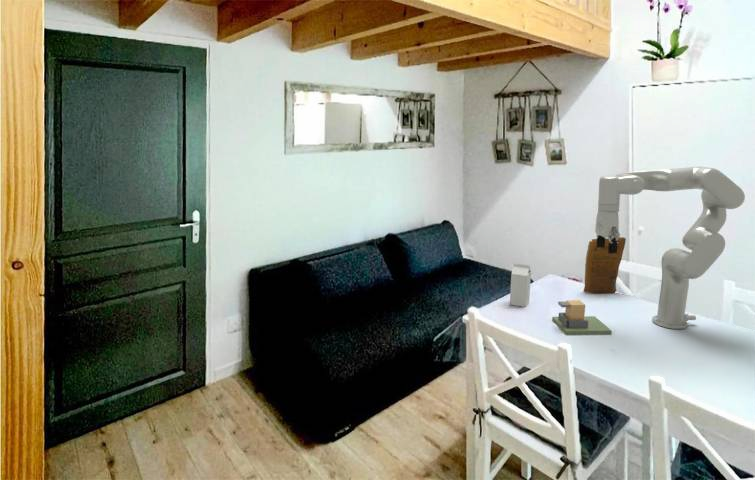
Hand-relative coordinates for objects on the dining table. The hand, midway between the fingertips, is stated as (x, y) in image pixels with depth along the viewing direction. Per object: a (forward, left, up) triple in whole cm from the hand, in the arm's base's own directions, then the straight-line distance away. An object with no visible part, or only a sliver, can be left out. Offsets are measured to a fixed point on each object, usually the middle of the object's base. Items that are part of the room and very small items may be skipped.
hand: (606, 249), depth 191 cm
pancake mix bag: (-19, -40, -32) cm, 55 cm away
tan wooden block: (+13, +3, -30) cm, 33 cm away
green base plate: (+9, +3, -32) cm, 33 cm away
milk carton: (+26, -25, -32) cm, 48 cm away
